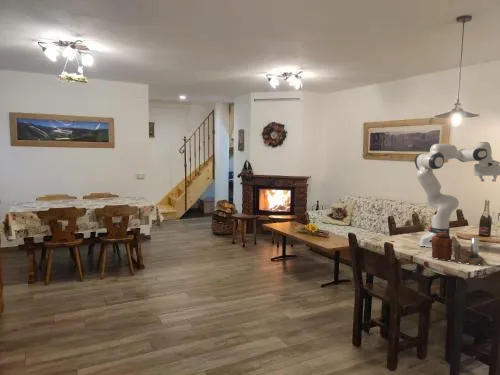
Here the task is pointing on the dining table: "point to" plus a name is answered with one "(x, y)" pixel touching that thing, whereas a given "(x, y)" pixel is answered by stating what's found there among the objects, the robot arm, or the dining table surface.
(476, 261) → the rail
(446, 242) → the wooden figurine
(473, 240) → the peg
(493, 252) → the dining table surface
